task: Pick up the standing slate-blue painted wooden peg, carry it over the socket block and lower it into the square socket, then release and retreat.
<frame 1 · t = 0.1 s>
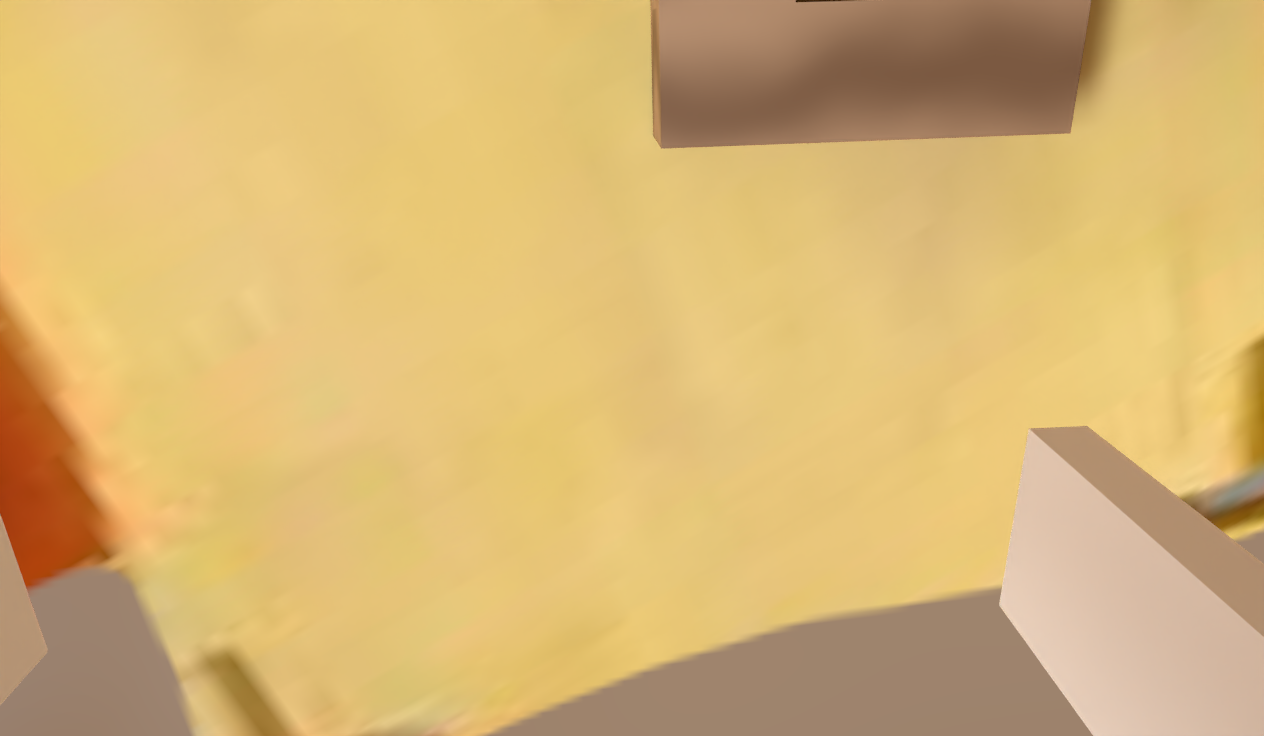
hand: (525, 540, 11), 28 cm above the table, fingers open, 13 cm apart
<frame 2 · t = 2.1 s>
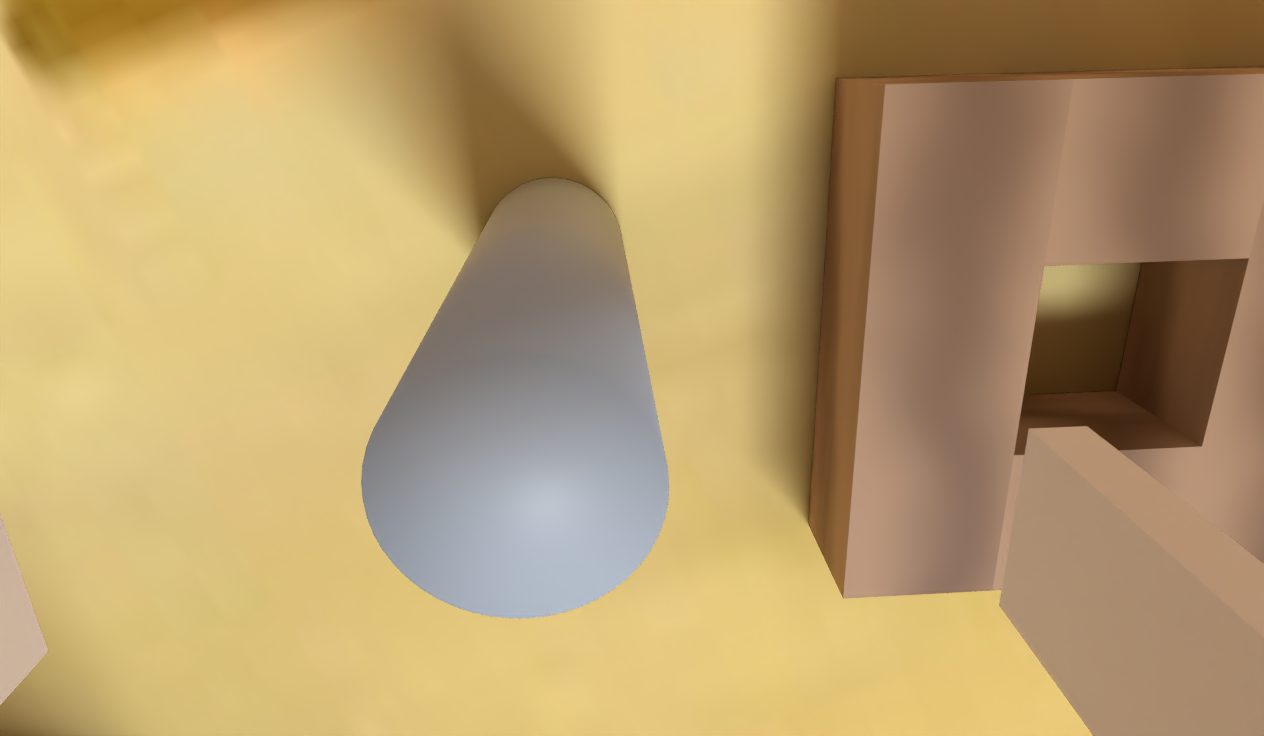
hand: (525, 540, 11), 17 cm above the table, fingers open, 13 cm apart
socket block: (1048, 315, 29), on the table
peg: (553, 247, 27), on the table
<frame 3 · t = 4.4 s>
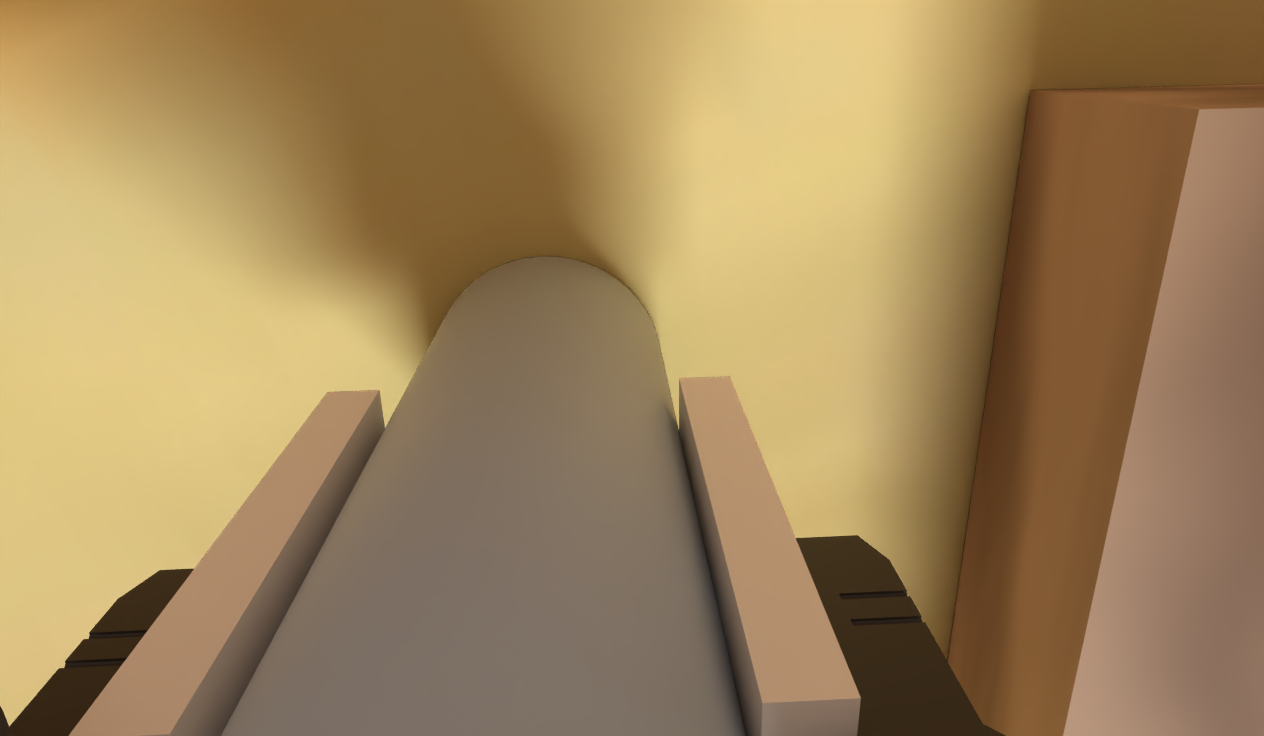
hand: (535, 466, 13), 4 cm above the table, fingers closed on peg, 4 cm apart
peg: (549, 366, 17), on the table, touching gripper
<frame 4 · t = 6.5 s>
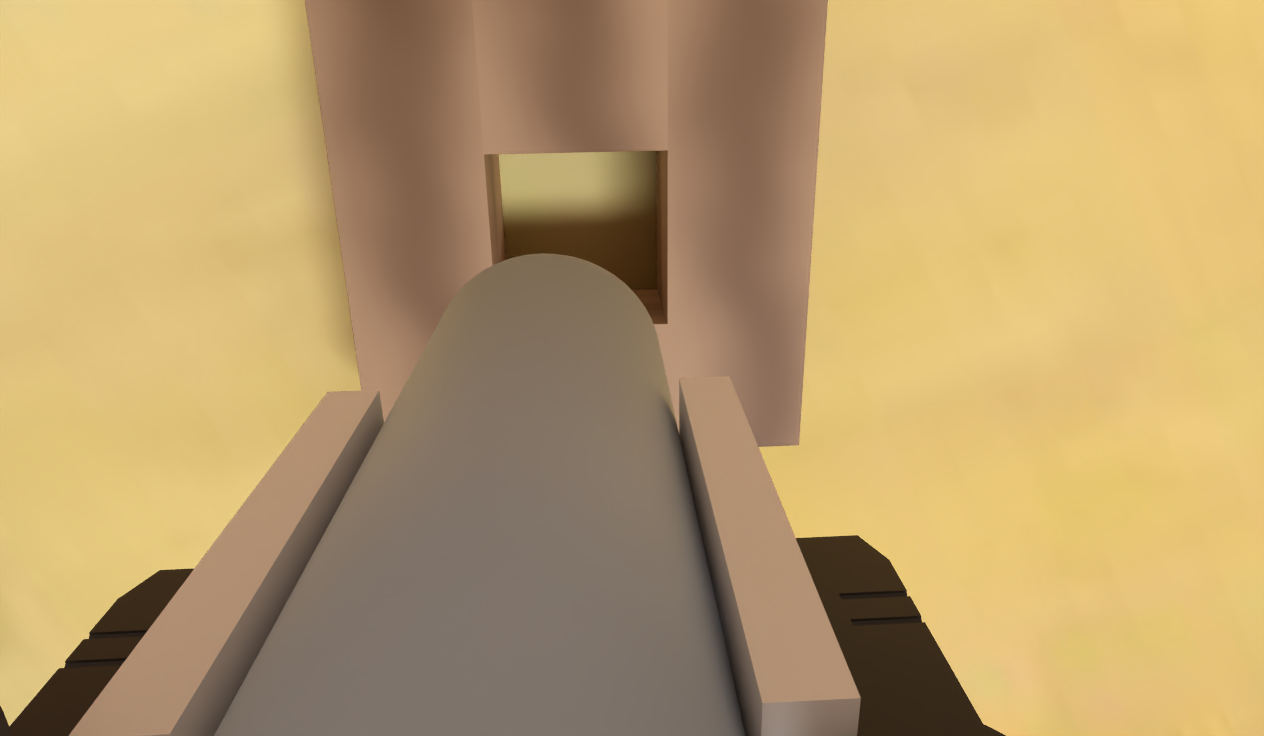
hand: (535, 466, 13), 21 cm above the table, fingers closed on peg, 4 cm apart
socket block: (580, 217, 32), on the table
peg: (548, 364, 17), point 17 cm above the table, touching gripper
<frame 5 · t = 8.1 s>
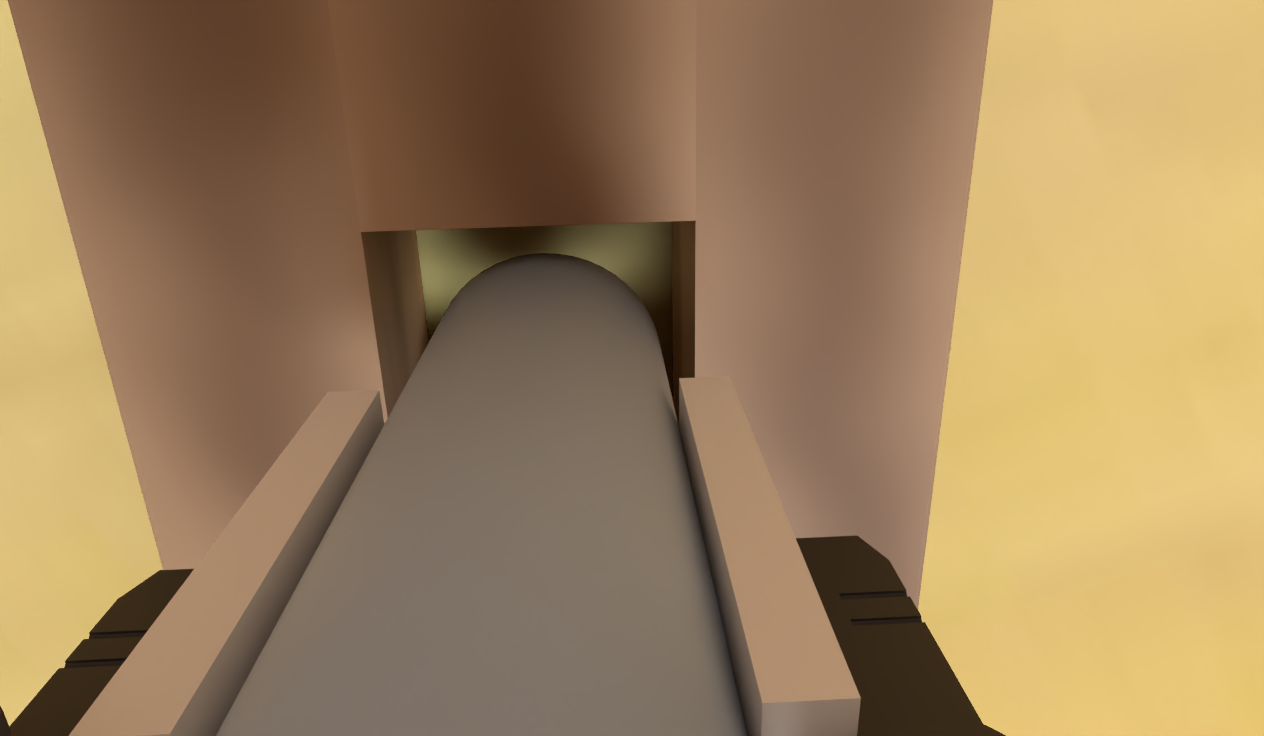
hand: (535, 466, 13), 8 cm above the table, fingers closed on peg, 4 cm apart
socket block: (549, 310, 20), on the table
peg: (548, 364, 17), point 4 cm above the table, touching gripper
when the fingers open (6 cm above the table, at t = 9.1 s): peg drops 2 cm, resting in socket block.
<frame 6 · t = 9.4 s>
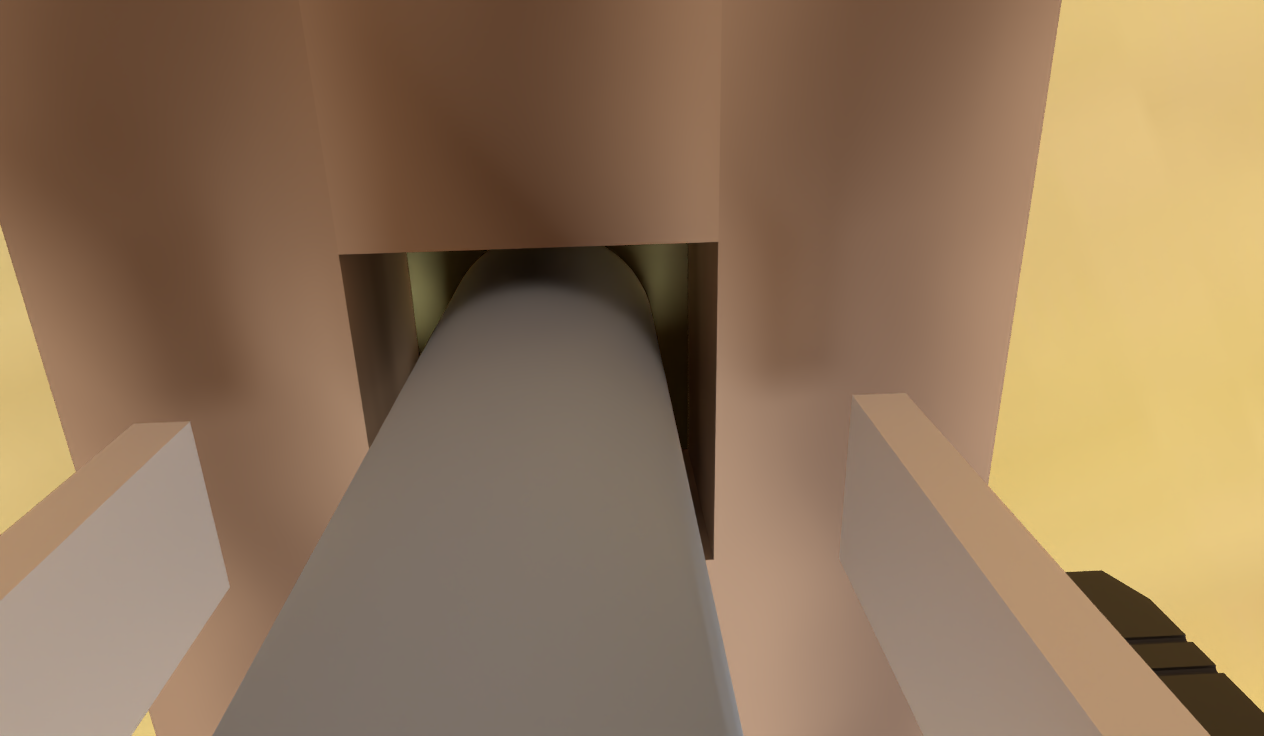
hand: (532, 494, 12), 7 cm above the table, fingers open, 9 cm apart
socket block: (553, 334, 18), on the table
peg: (552, 331, 18), resting in socket block
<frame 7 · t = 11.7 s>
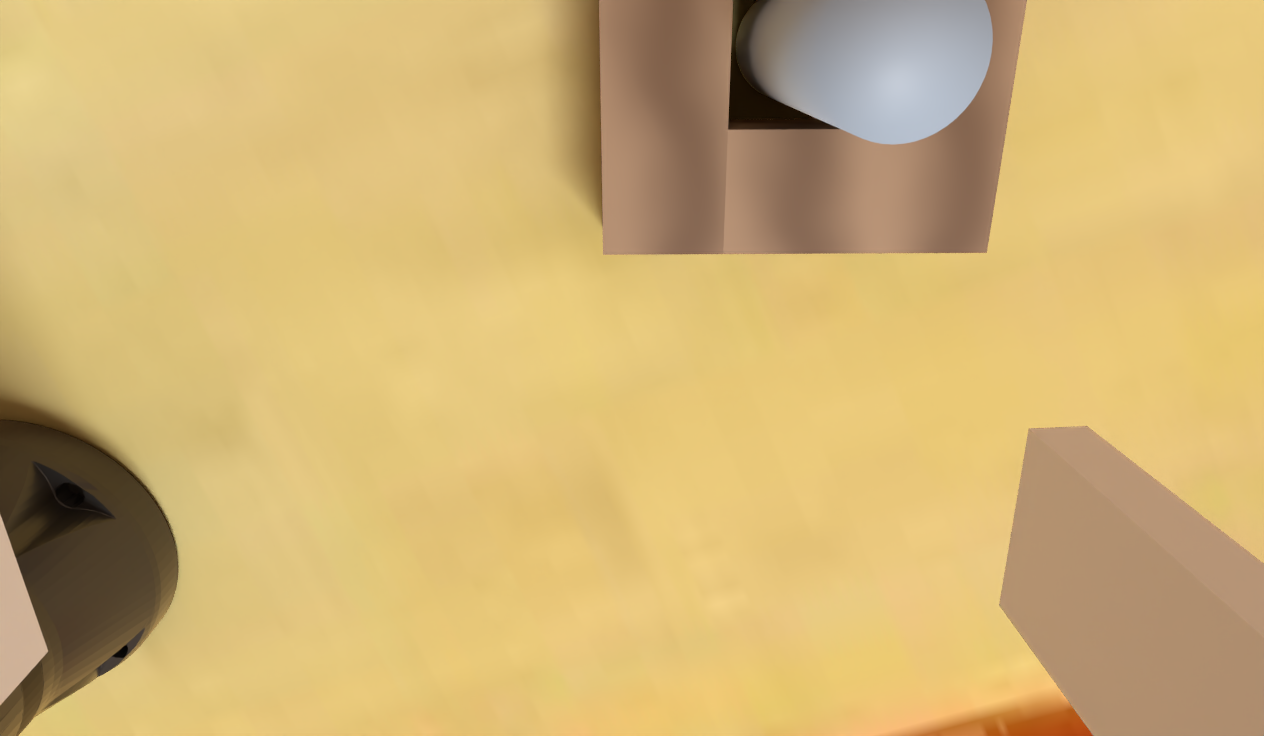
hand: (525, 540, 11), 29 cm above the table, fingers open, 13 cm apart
socket block: (788, 46, 36), on the table
peg: (787, 44, 36), resting in socket block
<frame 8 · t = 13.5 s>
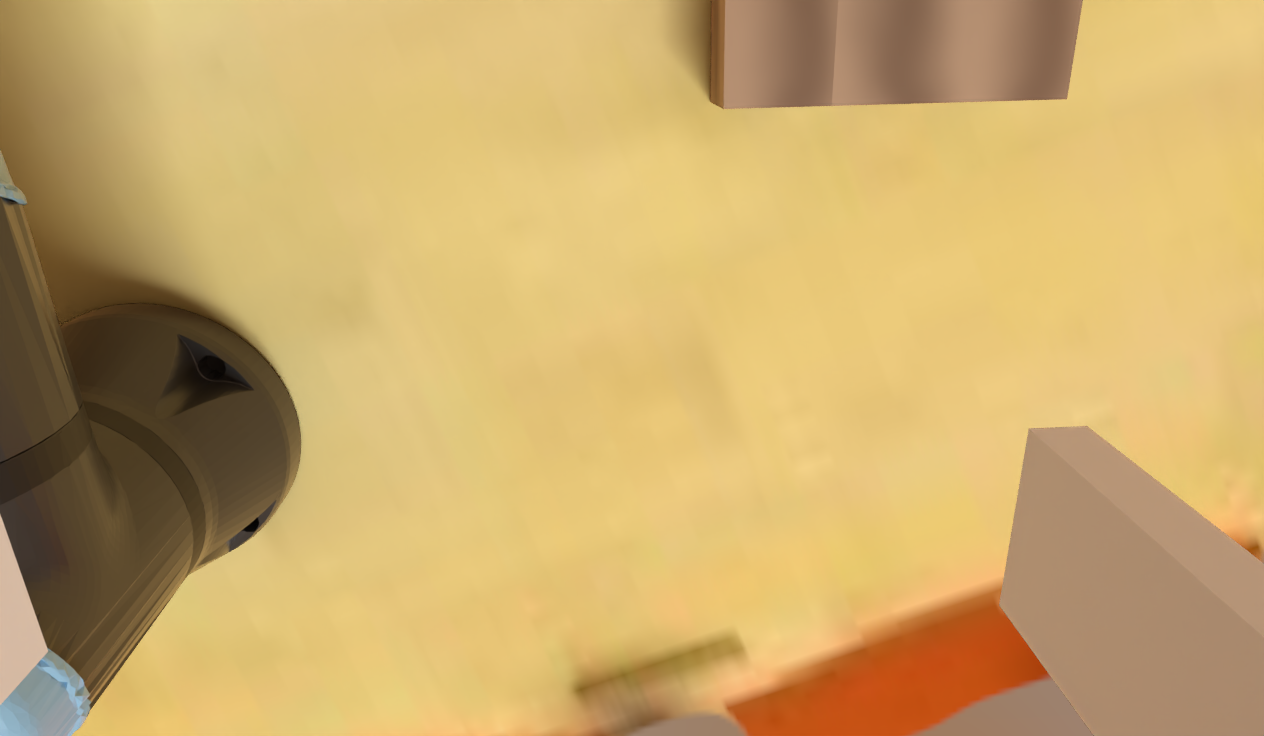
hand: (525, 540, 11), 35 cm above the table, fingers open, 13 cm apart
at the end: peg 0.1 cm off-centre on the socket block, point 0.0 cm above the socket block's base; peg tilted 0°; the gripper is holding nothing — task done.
